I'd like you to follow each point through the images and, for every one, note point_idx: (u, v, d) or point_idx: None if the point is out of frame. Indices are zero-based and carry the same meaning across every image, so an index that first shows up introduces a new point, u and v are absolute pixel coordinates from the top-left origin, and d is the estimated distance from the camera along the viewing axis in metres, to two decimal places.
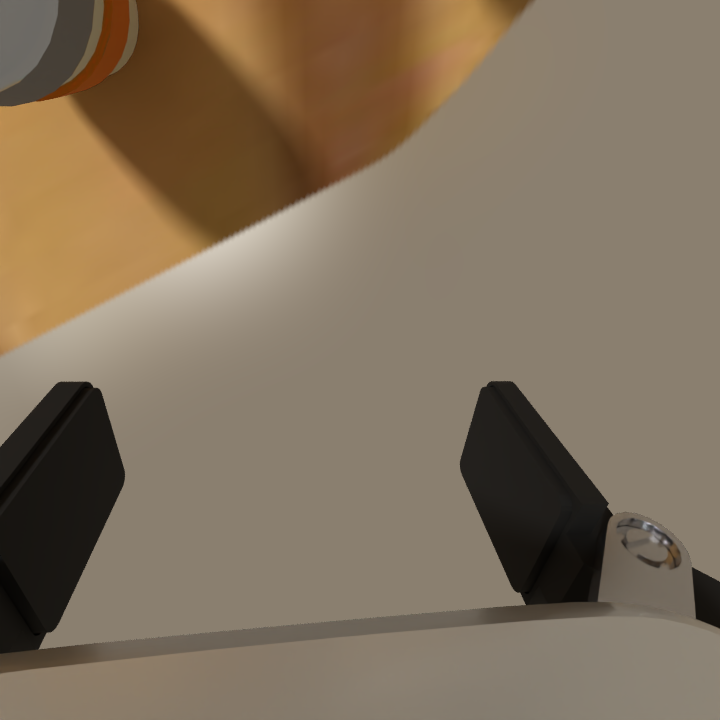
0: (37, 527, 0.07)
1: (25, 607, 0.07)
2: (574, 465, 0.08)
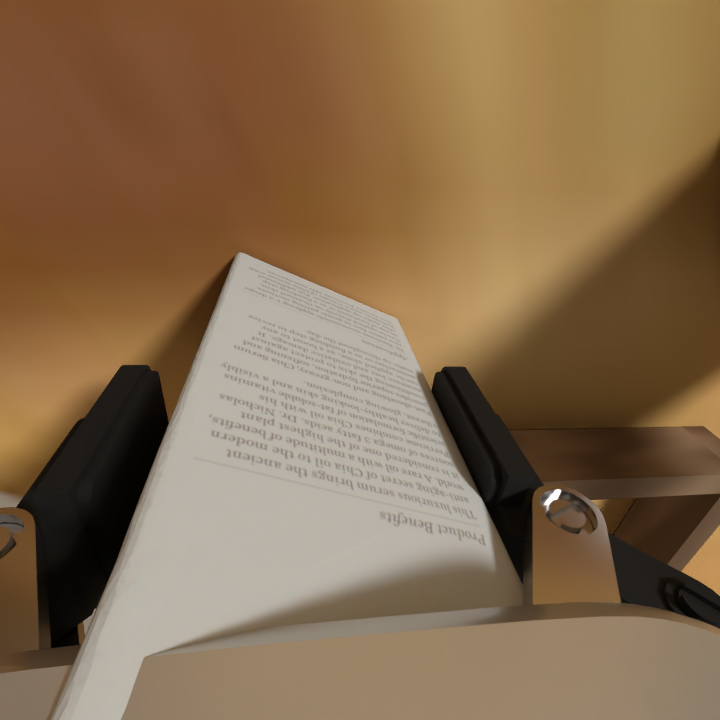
0: (118, 492, 0.08)
1: (108, 564, 0.07)
2: (509, 441, 0.08)
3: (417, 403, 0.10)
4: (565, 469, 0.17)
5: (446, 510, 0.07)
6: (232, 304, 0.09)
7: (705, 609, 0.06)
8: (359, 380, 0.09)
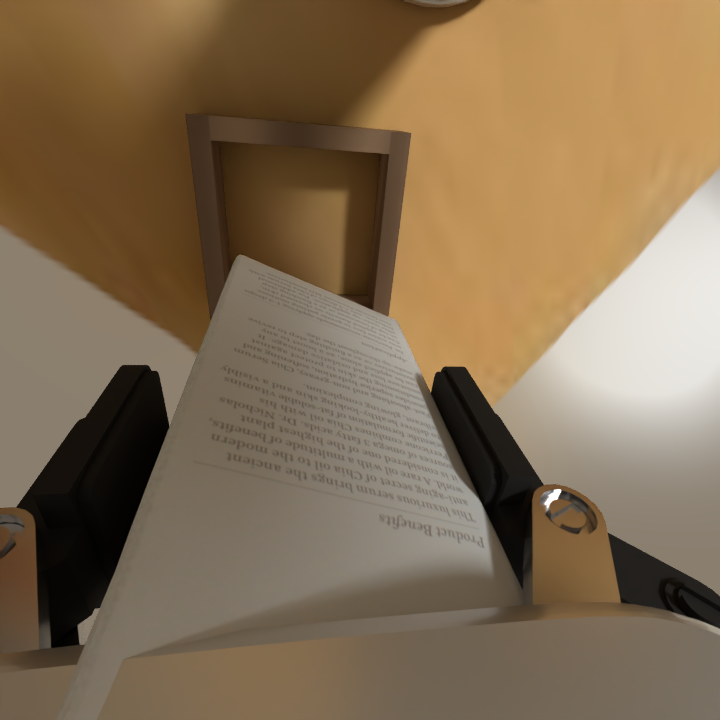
0: (118, 492, 0.08)
1: (108, 564, 0.07)
2: (509, 441, 0.08)
3: (416, 405, 0.10)
4: None
5: (445, 513, 0.07)
6: (232, 307, 0.10)
7: (705, 609, 0.06)
8: (359, 382, 0.09)
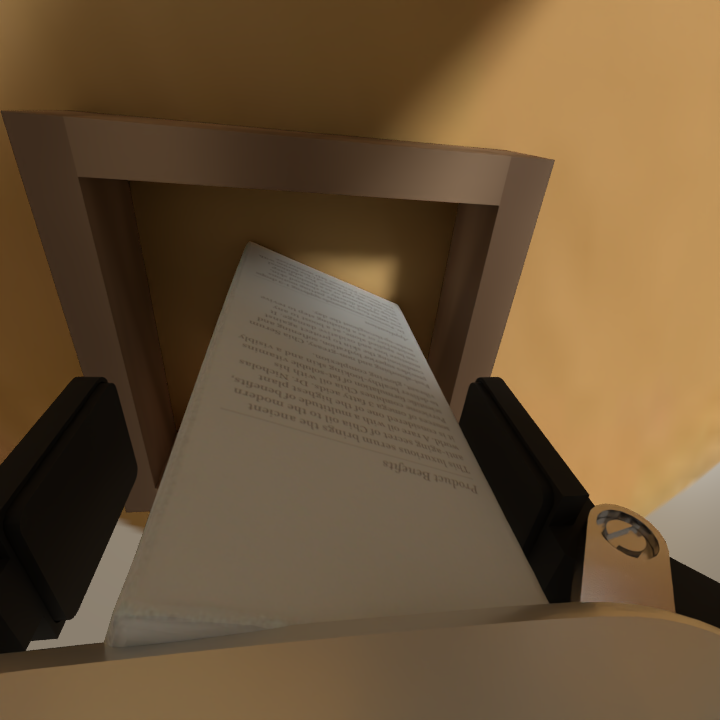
0: (58, 517, 0.07)
1: (47, 594, 0.07)
2: (557, 458, 0.08)
3: (416, 377, 0.11)
4: (202, 127, 0.10)
5: (442, 464, 0.08)
6: (246, 286, 0.10)
7: None
8: (363, 355, 0.10)
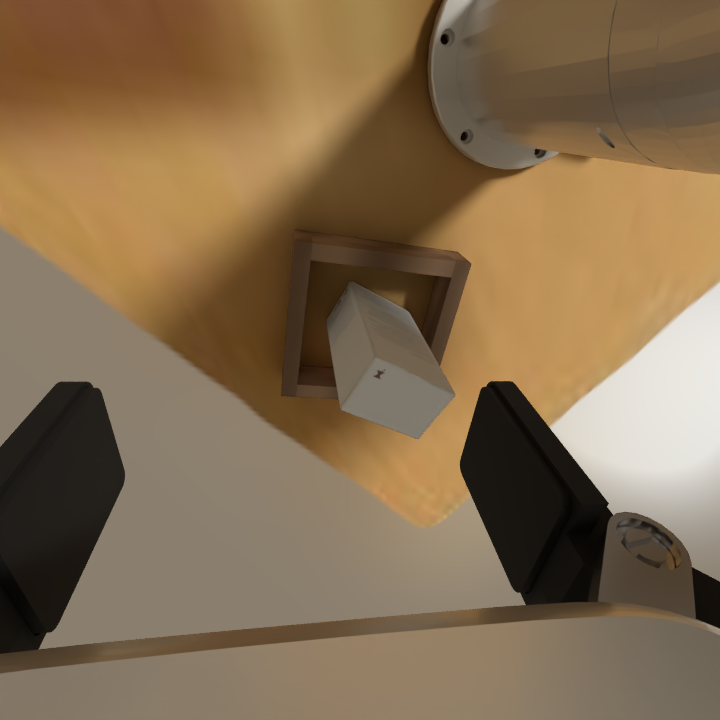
0: (37, 527, 0.07)
1: (25, 607, 0.07)
2: (574, 465, 0.08)
3: (418, 337, 0.30)
4: (351, 245, 0.29)
5: (426, 358, 0.27)
6: (360, 300, 0.29)
7: None
8: (400, 327, 0.29)
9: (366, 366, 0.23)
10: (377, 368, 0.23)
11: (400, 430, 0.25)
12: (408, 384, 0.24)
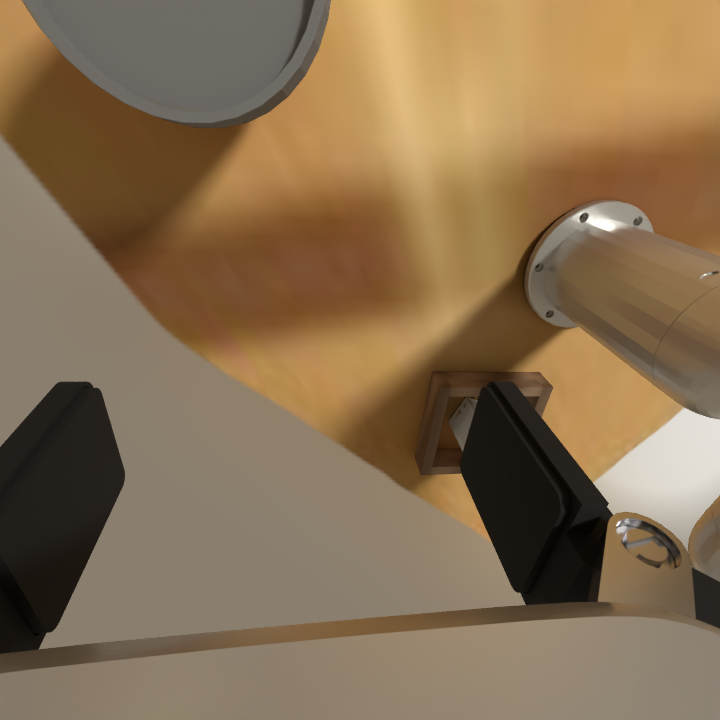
0: (37, 527, 0.07)
1: (25, 607, 0.07)
2: (574, 465, 0.08)
3: None
4: (474, 384, 0.44)
5: None
6: None
7: None
8: None
9: None
10: None
11: None
12: None
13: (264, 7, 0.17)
